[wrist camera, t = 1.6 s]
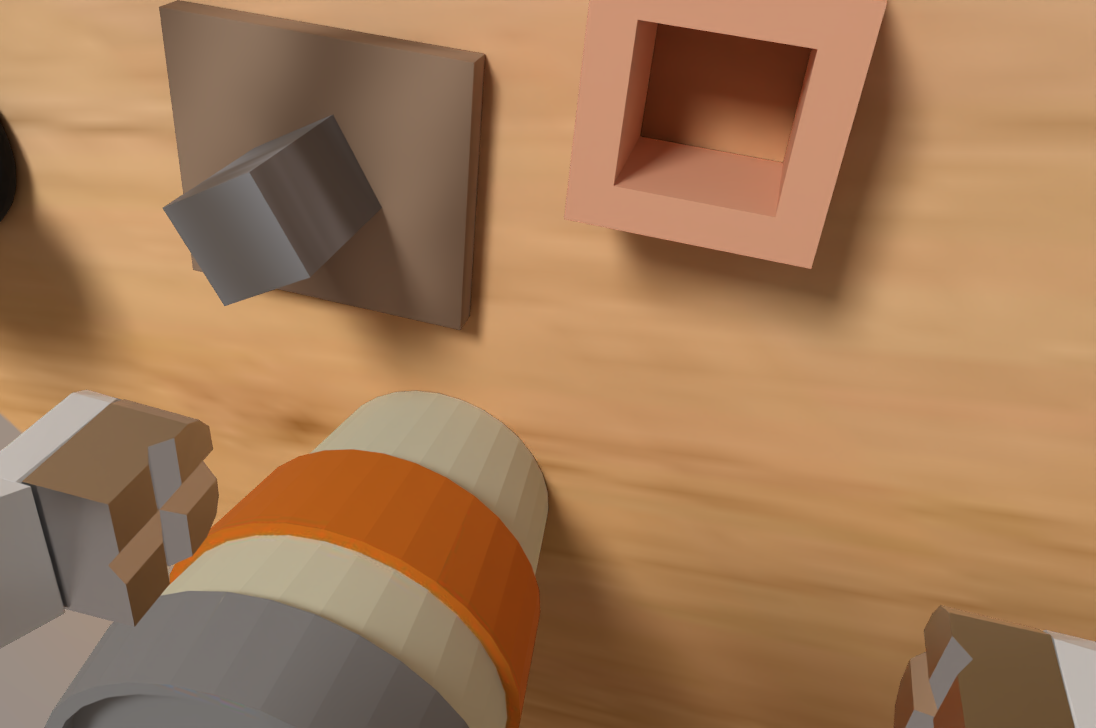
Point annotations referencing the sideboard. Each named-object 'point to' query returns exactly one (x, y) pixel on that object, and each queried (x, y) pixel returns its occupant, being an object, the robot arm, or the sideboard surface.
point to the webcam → (6, 174)
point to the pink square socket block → (709, 175)
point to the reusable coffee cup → (346, 590)
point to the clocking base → (381, 122)
